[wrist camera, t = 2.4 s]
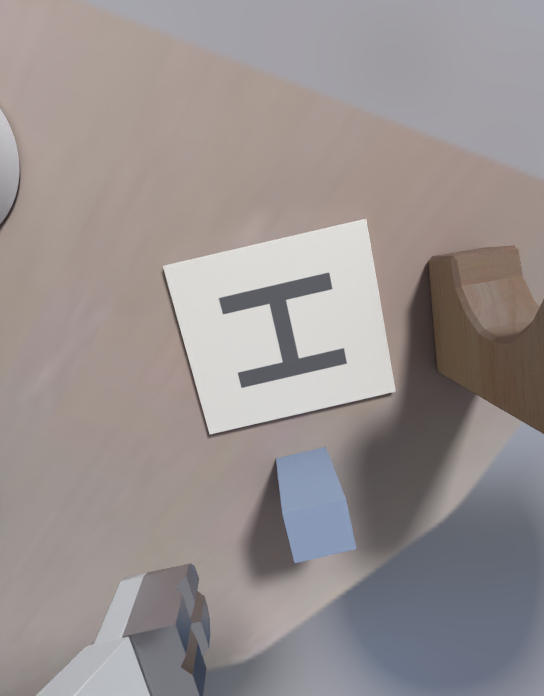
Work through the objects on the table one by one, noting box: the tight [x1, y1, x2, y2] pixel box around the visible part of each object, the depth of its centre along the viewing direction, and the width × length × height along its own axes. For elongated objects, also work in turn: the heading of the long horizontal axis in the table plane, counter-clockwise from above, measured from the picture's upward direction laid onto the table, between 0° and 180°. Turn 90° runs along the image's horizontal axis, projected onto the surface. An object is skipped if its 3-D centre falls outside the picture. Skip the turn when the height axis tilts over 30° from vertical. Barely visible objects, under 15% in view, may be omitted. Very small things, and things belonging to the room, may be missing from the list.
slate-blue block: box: [276, 447, 356, 563], centre depth 36 cm, size 5×4×9 cm
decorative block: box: [429, 246, 544, 434], centre depth 28 cm, size 11×6×20 cm, turn 8°
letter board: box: [163, 219, 396, 434], centre depth 37 cm, size 18×16×1 cm
